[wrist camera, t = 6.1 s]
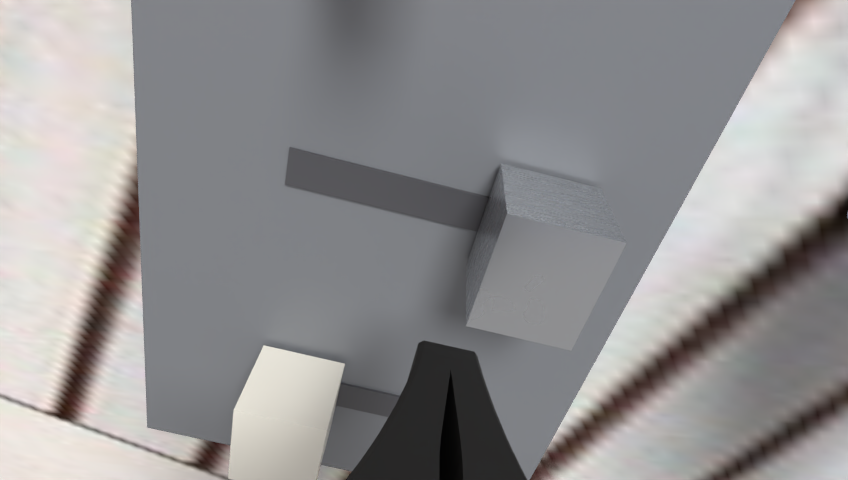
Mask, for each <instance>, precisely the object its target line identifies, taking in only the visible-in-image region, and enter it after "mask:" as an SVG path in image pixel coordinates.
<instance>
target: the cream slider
mask: <svg viewBox="0 0 848 480" xmlns="http://www.w3.org/2000/svg"><path fill="white" fill-rule="evenodd" d="M344 366H345V364H344V363H340V362H335V361H331V360H327V359H322V358H318V357H313V356H309V355H305V354H300V353H296V352H291V351H287V350H282V349H278V348H274V347H269V346H265V345H264V346H263V348H262V350H261V352H260V354H259V356H258V359H257V361H256V363H255V365H254V367H253V369H252V371H251V374H250V376H249V378H248V380H247V382H246V384H245V387H244V389H243V391H242V393H241V395H240V397H239V399H238V402H237V404H236V406H235V408H234V411H233V423H232V435H231V446H230V458H229V470H228V479H232V480H317V477H318V473H319V470H320V466H321V462H322V458H323V454H324V451H325V447H326V443H327V439H328V436H329V432H330V428H331V424H332V419H333V415H334V410H335V406H336V402H337V397H338V393H339V388H340V384H341V379H342V375H343V371H344Z"/></svg>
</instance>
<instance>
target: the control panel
mask: <svg viewBox="0 0 848 480" xmlns="http://www.w3.org/2000/svg"><path fill="white" fill-rule="evenodd" d="M794 2H795V0H131V8H132V34H133V61H134V87H135V113H136V140H137V166H138V193H139V219H140V245H141V272H142V298H143V324H144V351H145V377H146V403H147V428H152V429H157V430H161V431H166V432H171V433H176V434H180V435H185V436H190V437H194V438H199V439H204V440H208V441H213V442H218V443H222V444H227V445H231V435H232V423H233V411H234V408H235V406H236V404H237V402H238V399H239V397H240V395H241V393H242V391H243V389H244V387H245V384H246V382H247V380H248V378H249V376H250V374H251V371H252V369H253V367H254V365H255V363H256V361H257V359H258V356H259V354H260V352H261V350H262V348H263V346H264V345H265V346H269V347H274V348H278V349H282V350H287V351H291V352H296V353H300V354H305V355H309V356H313V357H318V358H322V359H327V360H331V361H335V362H340V363H344V364H345V366H344V371H343V375H342V379H341V384H340V388H339V393H338V397H337V402H336V406H335V410H334V415H333V419H332V424H331V428H330V432H329V436H328V439H327V443H326V447H325V451H324V454H323V458H322V462H321V465H325V466H330V467H334V468H339V469H344V470H348V471H353V470H354V468H355V467H356V466H357V464H358V463H359V462H360V460H361V459H362V457H363V456H364V455H365V453H366V452H367V450H368V449H369V447H370V446H371V445H372V443H373V442H374V440H375V438H376V437H377V435H378V434H379V432H380V431H381V429H382V427H383V426H384V424H385V422H386V421H387V419H388V417H389V415H390V414H391V412H392V410H393V409H394V407H395V405H396V403H397V401H398V399H399V397H400V395H401V393H402V391H403V389H404V387H405V385H406V383H407V380H408V377H409V373H410V370H411V366H412V363H413V360H414V356H415V353H416V349H417V346H418V343H419V342H422V341H424V340H425V341H429V342H434V343H438V344H442V345H447V346H451V347H456V348H460V349H465V350H469V351H474V352H475V353H476V355H477V356H478V360H479V364H480V367H481V370H482V374H483V377H484V380H485V383H486V386H487V389H488V392H489V394H490V397H491V400H492V403H493V405H494V408H495V410H496V413H497V415H498V418H499V420H500V423H501V425H502V427H503V430H504V432H505V435H506V437H507V439H508V441H509V443H510V446H511V448H512V450H513V452H514V454H515V456H516V458H517V460H518V462H519V464H520V466H521V468H522V470H523V472H524V474H525V476H526V478H527V480H530V478H531V476H532V474H533V473H534V471H535V469H536V467H537V465H538V464H539V462H540V460H541V458H542V456H543V455H544V453H545V451H546V449H547V447H548V446H549V444H550V442H551V440H552V438H553V437H554V435H555V433H556V431H557V429H558V427H559V426H560V424H561V422H562V420H563V418H564V417H565V415H566V413H567V411H568V409H569V408H570V406H571V404H572V402H573V400H574V399H575V397H576V395H577V393H578V391H579V390H580V388H581V386H582V384H583V382H584V381H585V379H586V377H587V375H588V373H589V372H590V370H591V368H592V366H593V364H594V363H595V361H596V359H597V357H598V355H599V354H600V352H601V350H602V348H603V346H604V344H605V343H606V341H607V339H608V337H609V335H610V334H611V332H612V330H613V328H614V326H615V325H616V323H617V321H618V319H619V317H620V316H621V314H622V312H623V310H624V308H625V307H626V305H627V303H628V301H629V299H630V298H631V296H632V294H633V292H634V290H635V289H636V287H637V285H638V283H639V281H640V280H641V278H642V276H643V274H644V272H645V271H646V269H647V267H648V265H649V263H650V261H651V260H652V258H653V256H654V254H655V252H656V251H657V249H658V247H659V245H660V243H661V242H662V240H663V238H664V236H665V234H666V233H667V231H668V229H669V227H670V225H671V224H672V222H673V220H674V218H675V216H676V215H677V213H678V211H679V209H680V207H681V206H682V204H683V202H684V200H685V198H686V197H687V195H688V193H689V191H690V189H691V188H692V186H693V184H694V182H695V180H696V178H697V177H698V175H699V173H700V171H701V169H702V168H703V166H704V164H705V162H706V160H707V159H708V157H709V155H710V153H711V151H712V150H713V148H714V146H715V144H716V142H717V141H718V139H719V137H720V135H721V133H722V132H723V130H724V128H725V126H726V124H727V123H728V121H729V119H730V117H731V115H732V114H733V112H734V110H735V108H736V106H737V105H738V103H739V101H740V99H741V97H742V95H743V94H744V92H745V90H746V88H747V86H748V85H749V83H750V81H751V79H752V77H753V76H754V74H755V72H756V70H757V68H758V67H759V65H760V63H761V61H762V59H763V58H764V56H765V54H766V52H767V50H768V49H769V47H770V45H771V43H772V41H773V40H774V38H775V36H776V34H777V32H778V31H779V29H780V27H781V25H782V23H783V21H784V20H785V18H786V16H787V14H788V12H789V11H790V9H791V7H792V5H793V3H794ZM501 163H502V164H506V165H510V166H514V167H518V168H522V169H526V170H530V171H534V172H538V173H542V174H546V175H550V176H553V177H557V178H561V179H565V180H569V181H573V182H577V183H581V184H585V185H589V186H593V187H597V188H601V189H602V191H603V193H604V195H605V197H606V200H607V202H608V204H609V206H610V208H611V210H612V213H613V215H614V217H615V219H616V221H617V223H618V226H619V228H620V230H621V232H622V234H623V236H624V239H625V241H626V243H627V244H626V245H625V247H624V249H623V251H622V253H621V255H620V257H619V259H618V261H617V263H616V265H615V267H614V269H613V271H612V273H611V275H610V277H609V278H608V280H607V282H606V284H605V286H604V288H603V290H602V292H601V294H600V296H599V298H598V300H597V302H596V304H595V306H594V308H593V310H592V311H591V313H590V315H589V317H588V319H587V321H586V323H585V325H584V327H583V329H582V331H581V333H580V335H579V337H578V339H577V341H576V342H575V344H574V346H573V348H572V350H566V349H562V348H558V347H553V346H549V345H545V344H541V343H536V342H532V341H528V340H524V339H519V338H515V337H511V336H506V335H502V334H498V333H494V332H489V331H485V330H481V329H477V328H472V327H468V326H466V264H467V262H468V259H469V256H470V253H471V250H472V247H473V244H474V241H475V238H476V235H477V232H478V229H479V226H480V223H481V221H482V218H483V215H484V212H485V209H486V206H487V203H488V200H489V197H490V194H491V191H492V188H493V185H494V182H495V180H496V177H497V174H498V171H499V168H500V165H501Z"/></svg>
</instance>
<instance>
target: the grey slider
mask: <svg viewBox="0 0 848 480" xmlns="http://www.w3.org/2000/svg"><path fill="white" fill-rule="evenodd" d="M626 244H627V243H626V241H625V239H624V236H623V234H622V232H621V230H620V228H619V226H618V223H617V221H616V219H615V217H614V215H613V213H612V210H611V208H610V206H609V204H608V202H607V200H606V197H605V195H604V193H603V191H602V189H601V188H597V187H593V186H589V185H585V184H581V183H577V182H573V181H569V180H565V179H561V178H557V177H553V176H550V175H546V174H542V173H538V172H534V171H530V170H526V169H522V168H518V167H514V166H510V165H506V164H502V163H501V165H500V168H499V171H498V174H497V177H496V180H495V182H494V185H493V188H492V191H491V194H490V197H489V200H488V203H487V206H486V209H485V212H484V215H483V218H482V221H481V223H480V226H479V229H478V232H477V235H476V238H475V241H474V244H473V247H472V250H471V253H470V256H469V259H468V262H467V264H466V326H468V327H472V328H477V329H481V330H485V331H489V332H494V333H498V334H502V335H506V336H511V337H515V338H519V339H524V340H528V341H532V342H536V343H541V344H545V345H549V346H553V347H558V348H562V349H566V350H572V348H573V346H574V344H575V342H576V341H577V339H578V337H579V335H580V333H581V331H582V329H583V327H584V325H585V323H586V321H587V319H588V317H589V315H590V313H591V311H592V310H593V308H594V306H595V304H596V302H597V300H598V298H599V296H600V294H601V292H602V290H603V288H604V286H605V284H606V282H607V280H608V278H609V277H610V275H611V273H612V271H613V269H614V267H615V265H616V263H617V261H618V259H619V257H620V255H621V253H622V251H623V249H624V247H625V245H626Z"/></svg>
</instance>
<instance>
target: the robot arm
mask: <svg viewBox="0 0 848 480" xmlns="http://www.w3.org/2000/svg"><path fill="white" fill-rule="evenodd" d="M847 218H848V212H847ZM346 480H527V478H526V476H525V474H524V472H523V470H522V468H521V466H520V464H519V462H518V460H517V458H516V456H515V454H514V452H513V450H512V448H511V446H510V443H509V441H508V439H507V437H506V435H505V432H504V430H503V427H502V425H501V423H500V420H499V418H498V415H497V413H496V410H495V408H494V405H493V403H492V400H491V397H490V394H489V392H488V389H487V386H486V383H485V380H484V377H483V374H482V370H481V367H480V364H479V360H478V356H477V355H476V353H475V352H474V351H469V350H465V349H460V348H456V347H451V346H447V345H442V344H438V343H434V342H429V341H425V340H424V341H422V342H419V343H418V346H417V349H416V353H415V356H414V360H413V363H412V366H411V370H410V373H409V377H408V380H407V383H406V385H405V387H404V389H403V391H402V393H401V395H400V397H399V399H398V401H397V403H396V405H395V407H394V409H393V410H392V412H391V414H390V415H389V417H388V419H387V421H386V422H385V424H384V426H383V427H382V429H381V431H380V432H379V434H378V435H377V437H376V438H375V440H374V442H373V443H372V445H371V446H370V447H369V449H368V450H367V452H366V453H365V455H364V456H363V457H362V459H361V460H360V462H359V463H358V464H357V466H356V467H355V468H354V470H353V471H352V472H351V474H350V475H349V476H348V478H347V479H346Z"/></svg>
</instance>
